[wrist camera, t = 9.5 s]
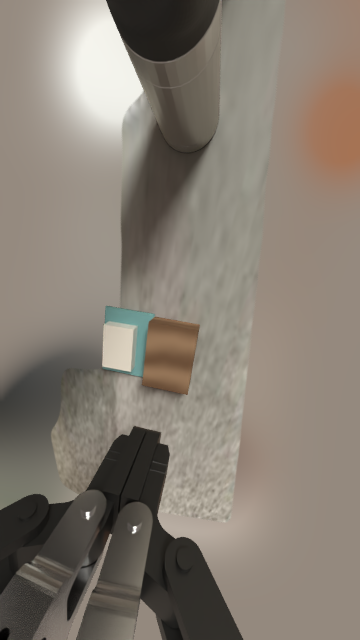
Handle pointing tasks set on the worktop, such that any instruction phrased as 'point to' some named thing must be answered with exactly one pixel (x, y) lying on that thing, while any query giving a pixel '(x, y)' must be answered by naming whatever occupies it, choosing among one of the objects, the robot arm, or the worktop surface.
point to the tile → (119, 346)
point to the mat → (142, 322)
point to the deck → (169, 354)
